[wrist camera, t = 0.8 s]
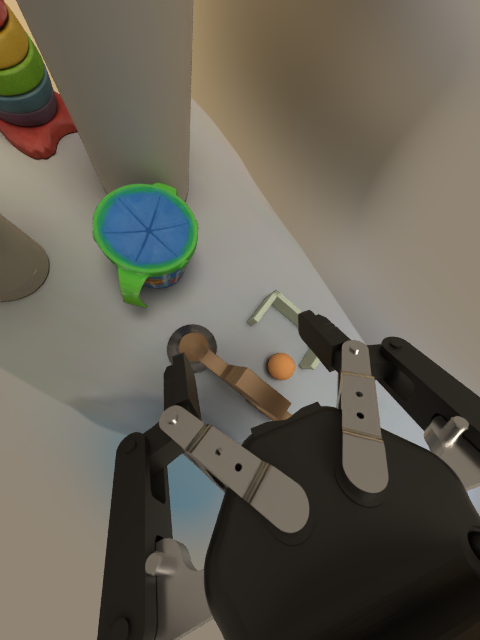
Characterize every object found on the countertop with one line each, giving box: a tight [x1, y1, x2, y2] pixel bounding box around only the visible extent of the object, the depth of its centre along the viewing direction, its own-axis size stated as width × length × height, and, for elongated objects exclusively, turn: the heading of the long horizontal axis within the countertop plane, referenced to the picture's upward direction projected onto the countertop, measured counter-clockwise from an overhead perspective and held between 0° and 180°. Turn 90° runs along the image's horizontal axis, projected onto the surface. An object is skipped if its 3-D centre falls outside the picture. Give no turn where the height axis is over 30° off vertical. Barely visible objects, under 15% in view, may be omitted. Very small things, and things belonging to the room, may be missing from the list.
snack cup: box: [93, 183, 198, 308], centre depth 28 cm, size 16×11×10 cm
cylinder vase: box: [16, 0, 193, 201], centre depth 23 cm, size 12×12×25 cm
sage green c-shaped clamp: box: [247, 290, 320, 370], centre depth 34 cm, size 12×6×4 cm, turn 52°
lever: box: [179, 332, 292, 421], centre depth 26 cm, size 18×4×14 cm, turn 52°
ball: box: [268, 353, 295, 380], centre depth 33 cm, size 4×4×4 cm
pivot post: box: [167, 325, 217, 373], centre depth 31 cm, size 7×7×3 cm
